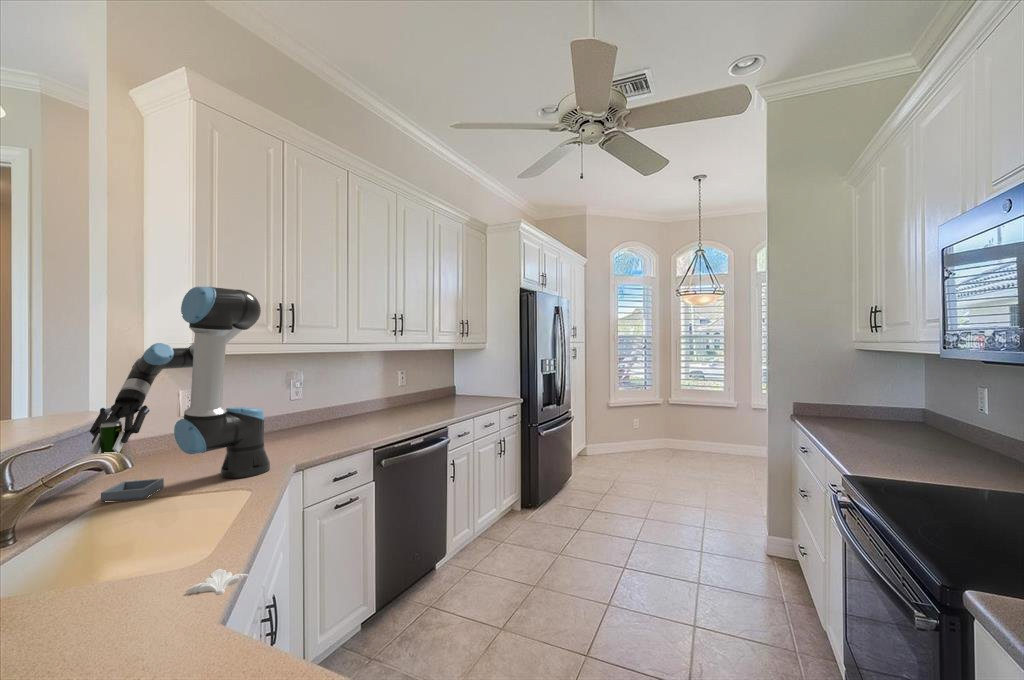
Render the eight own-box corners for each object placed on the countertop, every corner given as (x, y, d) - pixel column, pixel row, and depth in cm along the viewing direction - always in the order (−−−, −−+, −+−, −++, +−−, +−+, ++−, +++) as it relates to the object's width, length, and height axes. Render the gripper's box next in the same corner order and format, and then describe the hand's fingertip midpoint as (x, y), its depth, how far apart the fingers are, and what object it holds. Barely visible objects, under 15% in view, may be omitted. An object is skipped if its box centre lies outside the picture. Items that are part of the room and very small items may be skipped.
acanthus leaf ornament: (185, 597, 82) (185, 587, 82) (213, 577, 89) (213, 568, 89) (224, 598, 82) (224, 588, 82) (249, 578, 89) (248, 568, 88)
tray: (163, 487, 144) (163, 478, 144) (144, 499, 133) (144, 489, 133) (123, 490, 141) (123, 481, 141) (100, 503, 130) (100, 492, 130)
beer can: (99, 462, 141) (97, 424, 141) (102, 459, 145) (101, 422, 146) (121, 459, 144) (120, 422, 144) (124, 456, 148) (123, 420, 149)
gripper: (167, 399, 162) (143, 455, 146) (106, 403, 157) (75, 461, 141) (159, 386, 157) (133, 442, 141) (96, 389, 152) (62, 448, 136)
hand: (104, 451), depth 141 cm, fingers closed on beer can, 5 cm apart
